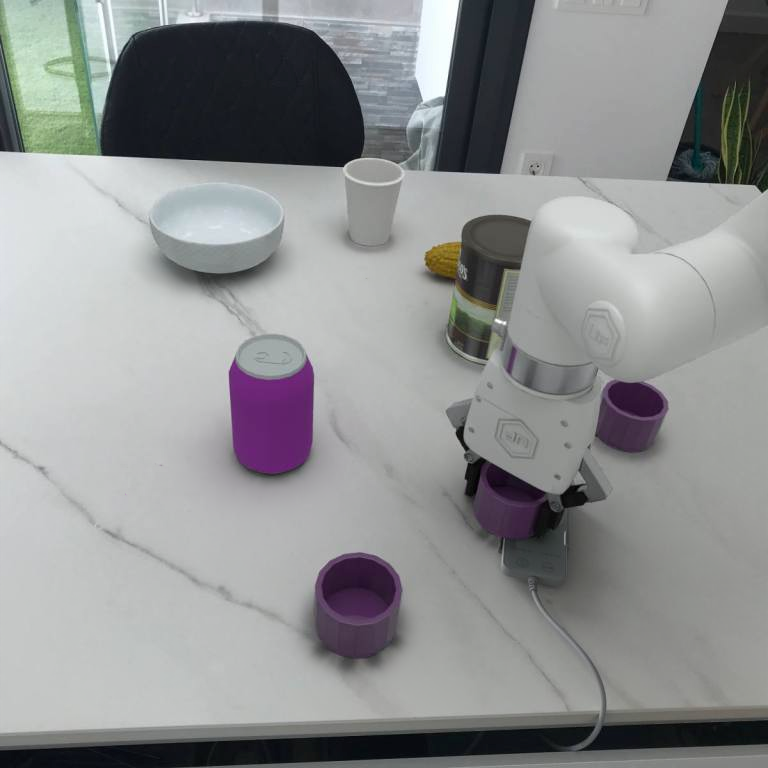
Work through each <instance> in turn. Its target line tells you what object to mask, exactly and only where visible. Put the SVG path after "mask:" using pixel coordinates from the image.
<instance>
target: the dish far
mask: <svg viewBox="0 0 768 768" xmlns="http://www.w3.org/2000/svg"><path fill="white" fill-rule="evenodd" d="M669 409H670V408H669V401H668V399H667V397H666V396H665V395H664V393H663V392H662V391H661V390H659V389H658V388H656V386H654V385H652V384H650V383H649V382H648V383H647V382H646V381H643V382H635V383H627V382H622V381H618V380H615V379H613V380H611V381H608V382H607V383H606V384H605V386H604V387H603V389H602V390H601V402H600V410H599V417H598V423H597V428H596V432H595V435H596V436H597V438H599V440H601V441H602V442H603V443H605V444H606V445H608V446H609V447H612V448H613V449H616V450H618V451H622V452H627V453H639V452H641V453H642V452H644V451H647V450H648V449H650V448H652V447H653V446H654V444H655V442H656V440H657V438H658V436H659V433H660V431H661V429H662V427H663V424H664V422H665V419H666V417H667V414H668V412H669Z"/></svg>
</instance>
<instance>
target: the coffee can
mask: <svg viewBox="0 0 768 768" xmlns="http://www.w3.org/2000/svg"><path fill="white" fill-rule="evenodd" d="M531 221H532V220H530V219H528V218H523V217H519V216H515V215H508V214H485V215H481V216H478V217H475V218H472V219H470V220H469V221H467V222H466V223H465V224H464V225H463V227H462V228H461V235H460V238H461V241H460V242H461V248H460V254H459V261H458V267H457V273H456V279H454V280H455V281H454V287H453V292H452V299H451V305H450V311H449V318H448V324H447V329H446V331H445V337H446V341H447V344H448V346H449V347H450V348H451V349H452V350H453V351H454V352H455V353H456V354H457V355H459V356H461V357H462V358H463V359H465V360H468V361H470V362H472V363H476V364H479V365H483V366H486V364H487V362H488V360H489V358H490V356H491V354H492V352H493V351H494V350H495V349H497V348H499V347H500V346H501V343H502V340H501V337H499V336H498V334H497V333H495V332H492V331H491V326H492V323H493V321H494V320H495V318H497V317H498V316H499V317H501V318H503V319H510V314H511V310H512V305H513V300H514V296H515V291H516V287H517V283H518V278H519V274H520V269H521V264H522V260H523V255H524V250H525V246H526V241H527V237H528V232H529V228H530V224H531Z"/></svg>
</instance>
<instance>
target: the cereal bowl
mask: <svg viewBox="0 0 768 768" xmlns="http://www.w3.org/2000/svg"><path fill="white" fill-rule="evenodd" d="M148 221H149V222H148V223H149V226H150V227H149V228H150V231H151V235H152V238H153V240H154V242H155V244H156V246H157V248H158V249H159V250H160V252H162V253H163V255H164V256H165V257H166V258H168V259H169V260H171V261H172V262H174V263H175V264H177V265H179V266H180V267H184V268H185V269H189V270H192V271H195V272H200V273H206V274H207V273H208V274H210V273H211V274H220V275H221V274H230V273H238V272H242V271H245V270H248V269H252V268H253V267H256V266H258V265H260V264H261V263H263V262H265V261H266V260H267V259H268V258H269V257H270V256H272V255H273V253H275V251H276V250H277V248H278V247H279V245H280V243H281V240H282V238H283V233H284V227H285V210H284V208H283V206H282V205H281V203H280V202H279V201H278V200H277V199H276V198H275V197H274V196H272V195H271V194H270V193H267V192H265V191H263V190H260V189H258V188H255V187H252V186H249V185H244V184H239V183H233V182H232V183H231V182H217V181H216V182H200V183H193V184H188V185H185V186H180V187H177V188H174V189H172V190H170V191H168V192H166V193H164V194H162V195H161V196H159V197H158V198H156V200H154V202H153V203H152V204H151V206H150V208H149V211H148Z"/></svg>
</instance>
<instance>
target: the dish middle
mask: <svg viewBox="0 0 768 768" xmlns="http://www.w3.org/2000/svg"><path fill="white" fill-rule="evenodd" d="M547 500H548V497H547V493H546V492H545V491H542V490H540V489H538V488H537V487H535V486H533V485H531V484H529V483H527V482H525V481H524V480H522V479H520V478H518V477H516V476H514V475H513V474H511V473H509V472H507V471H505V470H504V469H502V468H500V467H498V466H497V465H495V464H493V463H491V462H490V461H488V460H487V461H486V462H485V463H484V464H483V466H482V467H481V472H480V476H479V481H478V485H477V490H476V494H475V495H474V500H473V508H472V509H473V514H474V516H475V519H476V520H477V522H478V523H479V525H480V526H482V528H484V529H485V530H486V531H487V532H489V533H490V534H492V535H494V536H496V537H499V538H501V539H504V540H505V539H507V540H513V541H514V540H524V539H528V538H530V537H533V536H535V534H534V531H535V527H536V524H537V521H538V518H539V515H540V511H541V508H542V506H543V505H544V504H545V502H546V501H547Z"/></svg>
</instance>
